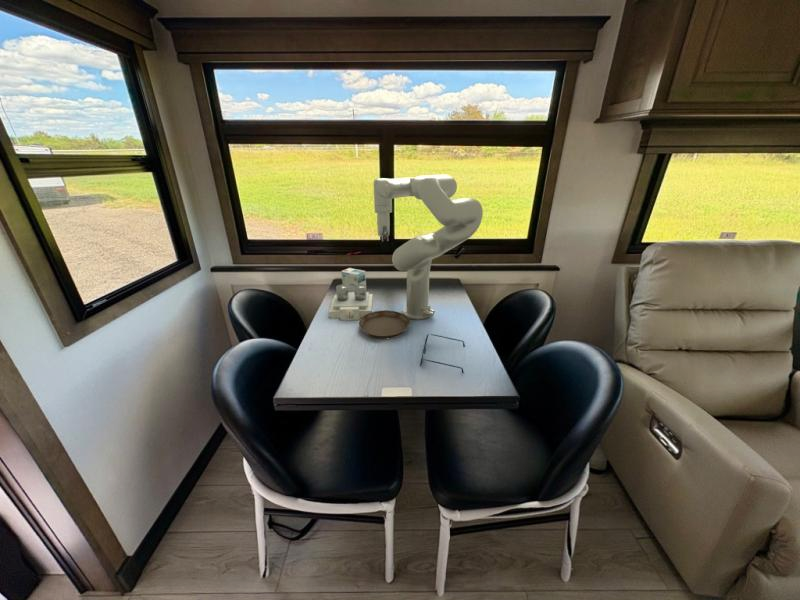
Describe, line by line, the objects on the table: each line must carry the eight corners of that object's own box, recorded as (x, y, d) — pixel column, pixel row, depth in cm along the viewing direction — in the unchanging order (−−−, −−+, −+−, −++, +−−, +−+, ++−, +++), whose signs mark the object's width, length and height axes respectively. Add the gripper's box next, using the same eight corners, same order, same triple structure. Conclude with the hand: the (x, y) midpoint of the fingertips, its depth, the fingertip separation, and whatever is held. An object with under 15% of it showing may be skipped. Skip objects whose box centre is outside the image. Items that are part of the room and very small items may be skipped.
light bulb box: (366, 290, 171) (365, 270, 166) (358, 294, 166) (357, 274, 161) (350, 286, 176) (349, 267, 172) (342, 290, 171) (340, 270, 166)
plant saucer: (404, 344, 124) (404, 337, 122) (352, 339, 128) (351, 331, 126) (413, 319, 142) (414, 312, 141) (367, 315, 146) (367, 308, 145)
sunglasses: (425, 343, 125) (427, 331, 123) (463, 351, 123) (466, 340, 121) (418, 370, 110) (420, 357, 108) (462, 380, 108) (465, 367, 106)
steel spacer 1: (351, 298, 150) (350, 286, 147) (342, 302, 146) (341, 289, 144) (343, 295, 153) (342, 283, 150) (334, 299, 149) (333, 286, 147)
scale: (372, 299, 160) (372, 290, 158) (371, 319, 141) (370, 309, 139) (335, 300, 160) (334, 290, 157) (328, 320, 141) (327, 310, 139)
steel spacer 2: (368, 298, 150) (368, 286, 148) (360, 301, 146) (359, 289, 144) (360, 295, 153) (360, 283, 151) (352, 298, 150) (351, 286, 147)
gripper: (373, 206, 150) (375, 243, 157) (375, 212, 135) (377, 252, 142) (390, 205, 151) (391, 242, 158) (393, 211, 136) (394, 252, 142)
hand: (384, 247), depth 150 cm, fingers open, 9 cm apart
